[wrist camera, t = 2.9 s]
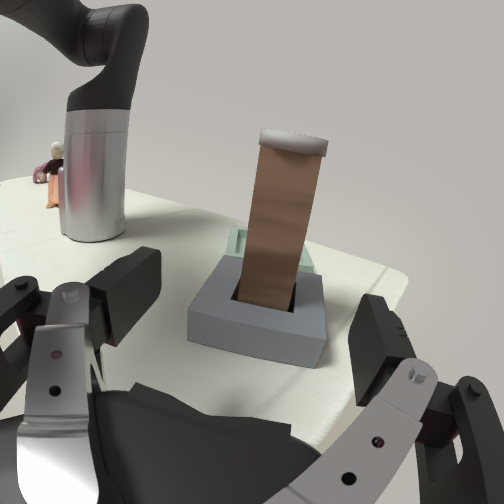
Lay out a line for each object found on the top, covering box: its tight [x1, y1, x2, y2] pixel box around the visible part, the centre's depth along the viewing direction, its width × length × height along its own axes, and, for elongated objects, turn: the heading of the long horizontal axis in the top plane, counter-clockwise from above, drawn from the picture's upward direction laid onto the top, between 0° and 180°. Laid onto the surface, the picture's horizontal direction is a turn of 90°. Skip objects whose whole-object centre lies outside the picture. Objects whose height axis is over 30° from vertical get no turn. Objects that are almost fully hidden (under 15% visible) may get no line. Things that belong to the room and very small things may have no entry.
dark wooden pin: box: [237, 128, 328, 312], centre depth 22 cm, size 5×5×15 cm
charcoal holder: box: [187, 255, 327, 369], centre depth 24 cm, size 10×10×3 cm
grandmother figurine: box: [40, 141, 64, 208], centre depth 42 cm, size 8×4×13 cm, turn 134°
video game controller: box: [33, 162, 50, 183], centre depth 61 cm, size 10×5×7 cm, turn 139°
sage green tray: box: [226, 226, 314, 273], centre depth 36 cm, size 10×10×2 cm
